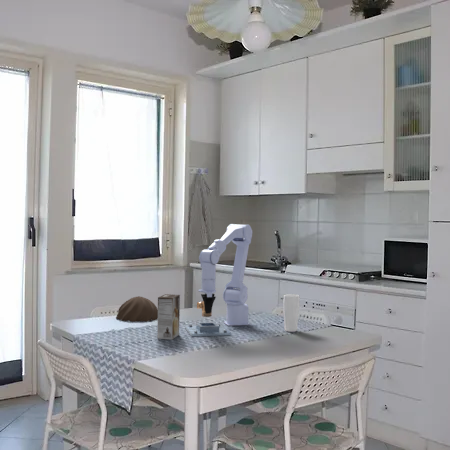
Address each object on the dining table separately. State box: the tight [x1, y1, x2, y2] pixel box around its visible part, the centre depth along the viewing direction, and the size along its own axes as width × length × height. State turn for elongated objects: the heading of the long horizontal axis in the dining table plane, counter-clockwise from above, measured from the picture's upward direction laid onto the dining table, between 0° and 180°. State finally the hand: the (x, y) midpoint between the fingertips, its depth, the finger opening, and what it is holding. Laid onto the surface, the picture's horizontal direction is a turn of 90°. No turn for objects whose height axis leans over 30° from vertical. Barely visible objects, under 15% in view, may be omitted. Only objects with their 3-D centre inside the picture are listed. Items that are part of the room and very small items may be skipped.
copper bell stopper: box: [196, 300, 213, 318], centre depth 227 cm, size 6×4×6 cm, turn 88°
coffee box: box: [156, 293, 181, 341], centre depth 216 cm, size 9×6×16 cm
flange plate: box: [184, 321, 232, 337], centre depth 227 cm, size 16×16×3 cm
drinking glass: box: [282, 293, 301, 333], centre depth 232 cm, size 7×7×15 cm
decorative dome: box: [115, 296, 158, 323], centre depth 254 cm, size 19×20×10 cm
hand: (207, 312), depth 227 cm, fingers closed on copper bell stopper, 4 cm apart
